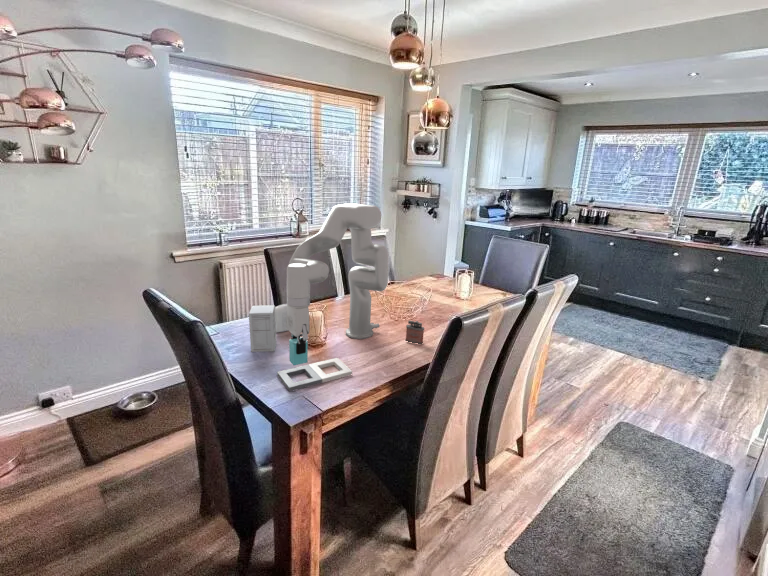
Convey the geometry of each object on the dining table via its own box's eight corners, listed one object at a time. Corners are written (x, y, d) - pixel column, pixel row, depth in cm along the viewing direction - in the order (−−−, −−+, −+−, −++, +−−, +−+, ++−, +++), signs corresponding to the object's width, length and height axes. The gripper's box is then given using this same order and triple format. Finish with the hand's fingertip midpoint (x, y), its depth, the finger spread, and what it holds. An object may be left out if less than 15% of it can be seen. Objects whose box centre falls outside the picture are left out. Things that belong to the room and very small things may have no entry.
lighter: (423, 342, 176) (425, 321, 173) (422, 345, 173) (423, 324, 170) (406, 339, 178) (407, 318, 175) (404, 342, 175) (405, 321, 172)
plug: (303, 357, 141) (303, 337, 139) (307, 362, 138) (307, 341, 136) (289, 360, 138) (289, 339, 136) (293, 365, 135) (293, 344, 133)
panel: (337, 361, 155) (337, 357, 155) (352, 374, 146) (352, 371, 145) (277, 375, 142) (277, 371, 142) (289, 391, 133) (289, 387, 132)
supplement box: (276, 342, 169) (275, 304, 164) (275, 351, 160) (273, 312, 155) (253, 342, 167) (251, 304, 162) (250, 352, 158) (248, 312, 153)
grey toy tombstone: (294, 326, 186) (294, 301, 182) (298, 329, 182) (297, 304, 179) (273, 330, 180) (272, 304, 177) (276, 333, 177) (275, 307, 173)
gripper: (278, 294, 137) (279, 343, 142) (297, 309, 123) (297, 363, 128) (299, 292, 141) (299, 340, 146) (319, 306, 127) (318, 358, 132)
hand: (298, 350), depth 137 cm, fingers closed on plug, 3 cm apart
